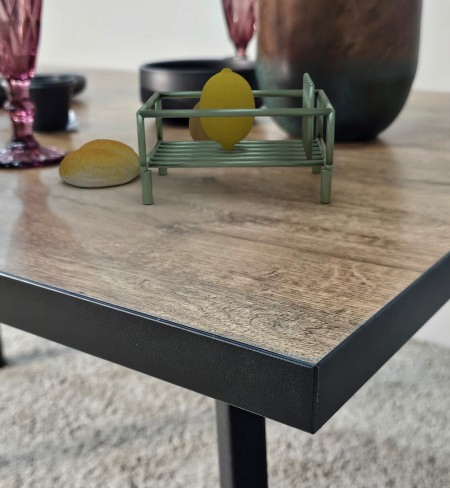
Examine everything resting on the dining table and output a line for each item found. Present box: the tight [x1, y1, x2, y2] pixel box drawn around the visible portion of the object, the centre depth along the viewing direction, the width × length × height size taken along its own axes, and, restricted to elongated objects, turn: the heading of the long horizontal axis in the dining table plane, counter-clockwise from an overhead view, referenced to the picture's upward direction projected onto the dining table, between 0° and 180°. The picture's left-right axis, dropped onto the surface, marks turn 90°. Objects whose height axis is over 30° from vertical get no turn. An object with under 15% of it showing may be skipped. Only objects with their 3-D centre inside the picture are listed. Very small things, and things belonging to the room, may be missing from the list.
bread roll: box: [58, 138, 141, 188], centre depth 80 cm, size 8×9×4 cm
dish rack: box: [135, 72, 336, 205], centre depth 74 cm, size 18×13×11 cm
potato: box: [188, 100, 213, 141], centre depth 88 cm, size 7×8×8 cm
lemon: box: [199, 67, 256, 150], centre depth 73 cm, size 6×6×8 cm
